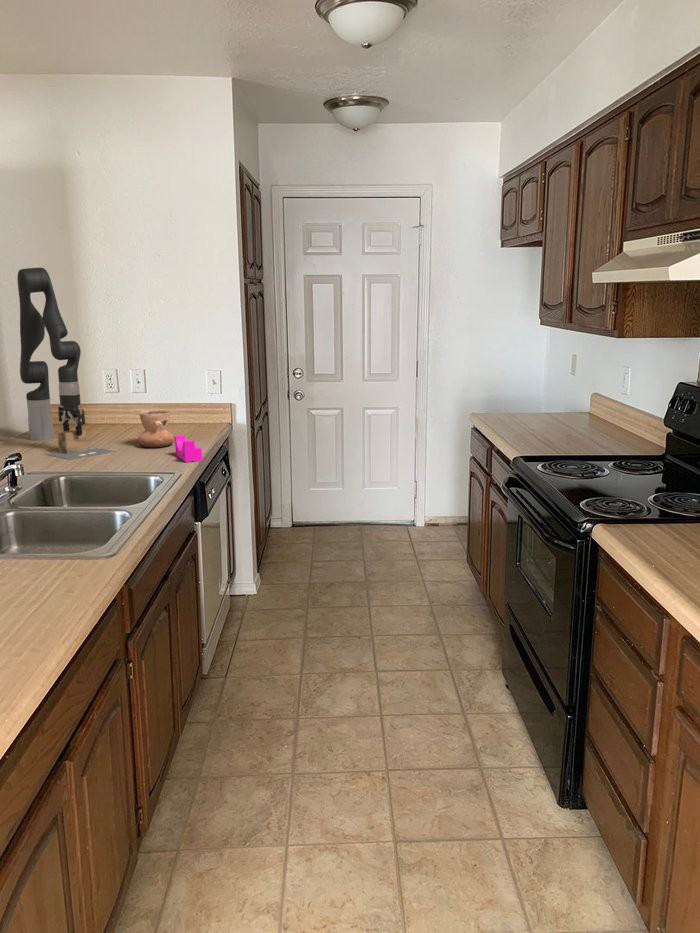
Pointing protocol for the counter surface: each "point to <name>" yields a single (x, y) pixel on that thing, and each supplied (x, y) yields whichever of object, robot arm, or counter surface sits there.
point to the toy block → (187, 449)
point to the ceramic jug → (155, 429)
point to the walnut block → (72, 441)
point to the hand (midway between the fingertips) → (72, 434)
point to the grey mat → (80, 453)
